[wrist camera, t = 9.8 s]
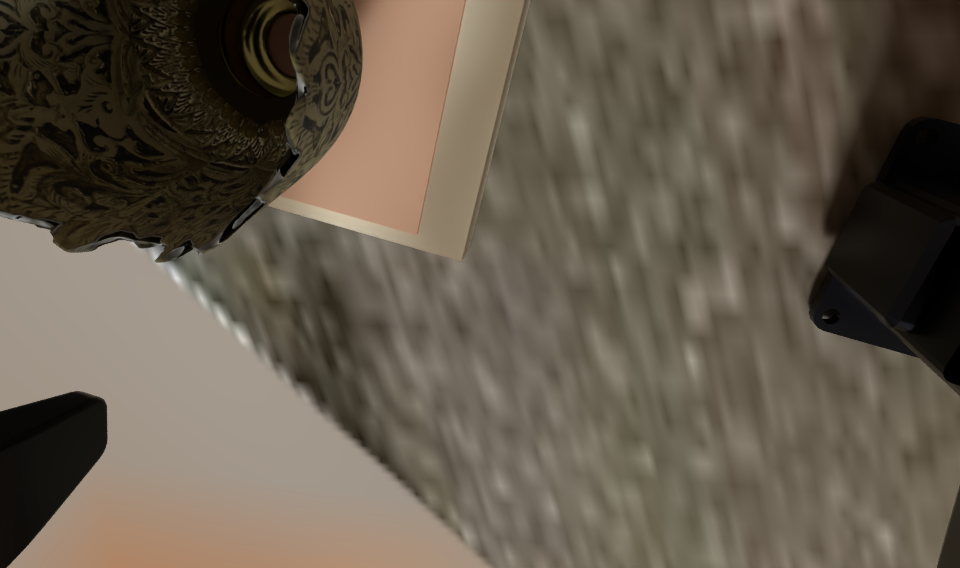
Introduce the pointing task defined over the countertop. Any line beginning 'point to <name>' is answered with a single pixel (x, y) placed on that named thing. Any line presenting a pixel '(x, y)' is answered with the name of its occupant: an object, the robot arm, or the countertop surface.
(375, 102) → the cream shallow open box
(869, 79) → the countertop surface
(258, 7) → the dark brown rounded vessel
